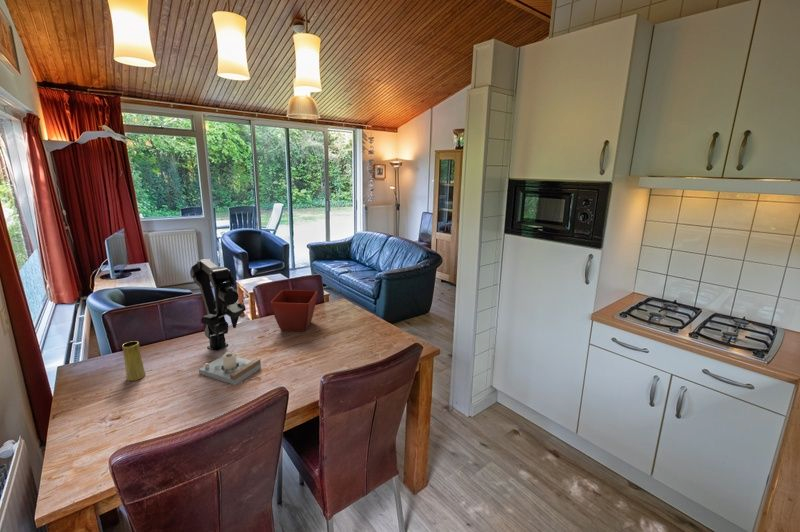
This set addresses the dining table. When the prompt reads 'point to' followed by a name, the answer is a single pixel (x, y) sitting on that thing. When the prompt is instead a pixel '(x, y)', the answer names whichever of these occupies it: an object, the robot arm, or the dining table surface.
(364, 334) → the dining table surface
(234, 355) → the bushing
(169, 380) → the dining table surface
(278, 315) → the plant pot
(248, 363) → the jig
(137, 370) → the vase
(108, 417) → the dining table surface
